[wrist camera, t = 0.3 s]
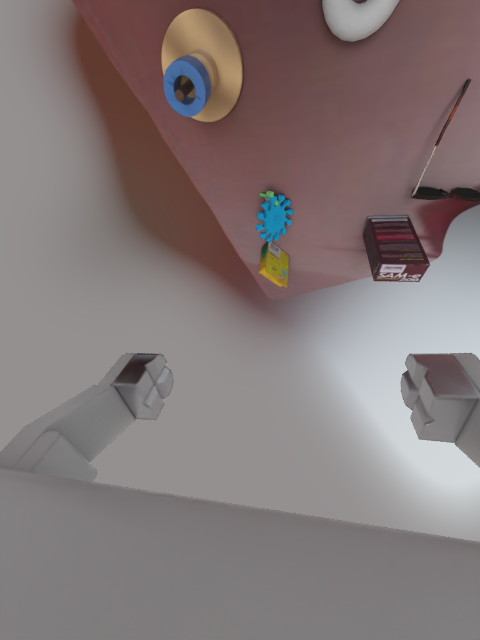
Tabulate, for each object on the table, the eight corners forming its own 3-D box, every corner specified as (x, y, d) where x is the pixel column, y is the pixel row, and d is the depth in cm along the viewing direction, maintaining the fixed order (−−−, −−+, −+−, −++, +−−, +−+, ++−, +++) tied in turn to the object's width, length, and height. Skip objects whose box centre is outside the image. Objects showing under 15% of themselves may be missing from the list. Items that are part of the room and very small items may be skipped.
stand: (176, -20, 35) (138, -16, 26) (258, 48, 39) (246, 70, 30) (155, 90, 44) (122, 117, 36) (222, 135, 48) (206, 169, 40)
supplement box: (361, 234, 61) (372, 282, 51) (367, 215, 57) (379, 263, 47) (401, 233, 59) (419, 283, 50) (410, 214, 55) (431, 263, 46)
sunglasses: (404, 187, 51) (411, 199, 48) (454, 77, 39) (468, 83, 36) (480, 190, 49) (493, 202, 46) (557, 75, 37) (581, 81, 34)
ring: (170, 49, 34) (161, 54, 32) (212, 61, 35) (207, 67, 33) (171, 103, 39) (164, 111, 37) (209, 113, 39) (204, 121, 37)
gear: (295, 233, 61) (262, 250, 58) (278, 226, 65) (247, 242, 61) (294, 183, 53) (256, 200, 50) (275, 179, 57) (239, 194, 54)
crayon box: (261, 246, 67) (257, 277, 61) (269, 239, 65) (265, 270, 59) (281, 261, 71) (279, 293, 64) (289, 255, 69) (287, 287, 62)
